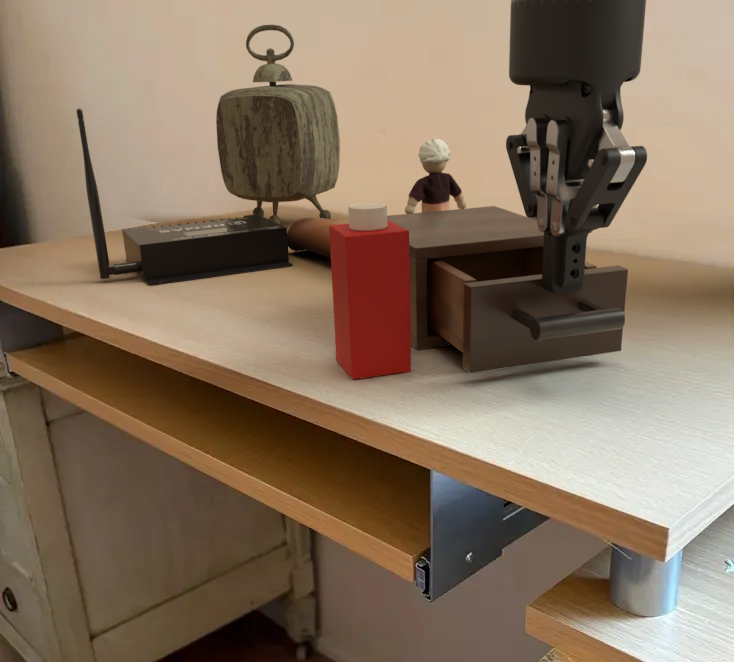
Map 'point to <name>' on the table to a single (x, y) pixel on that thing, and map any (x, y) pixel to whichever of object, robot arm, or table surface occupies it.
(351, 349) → the ketchup bottle
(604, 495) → the table surface
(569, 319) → the drawer
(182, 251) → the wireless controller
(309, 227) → the sunglasses case
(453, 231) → the cabinet
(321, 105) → the tabletop clock
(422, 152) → the grandmother figurine
